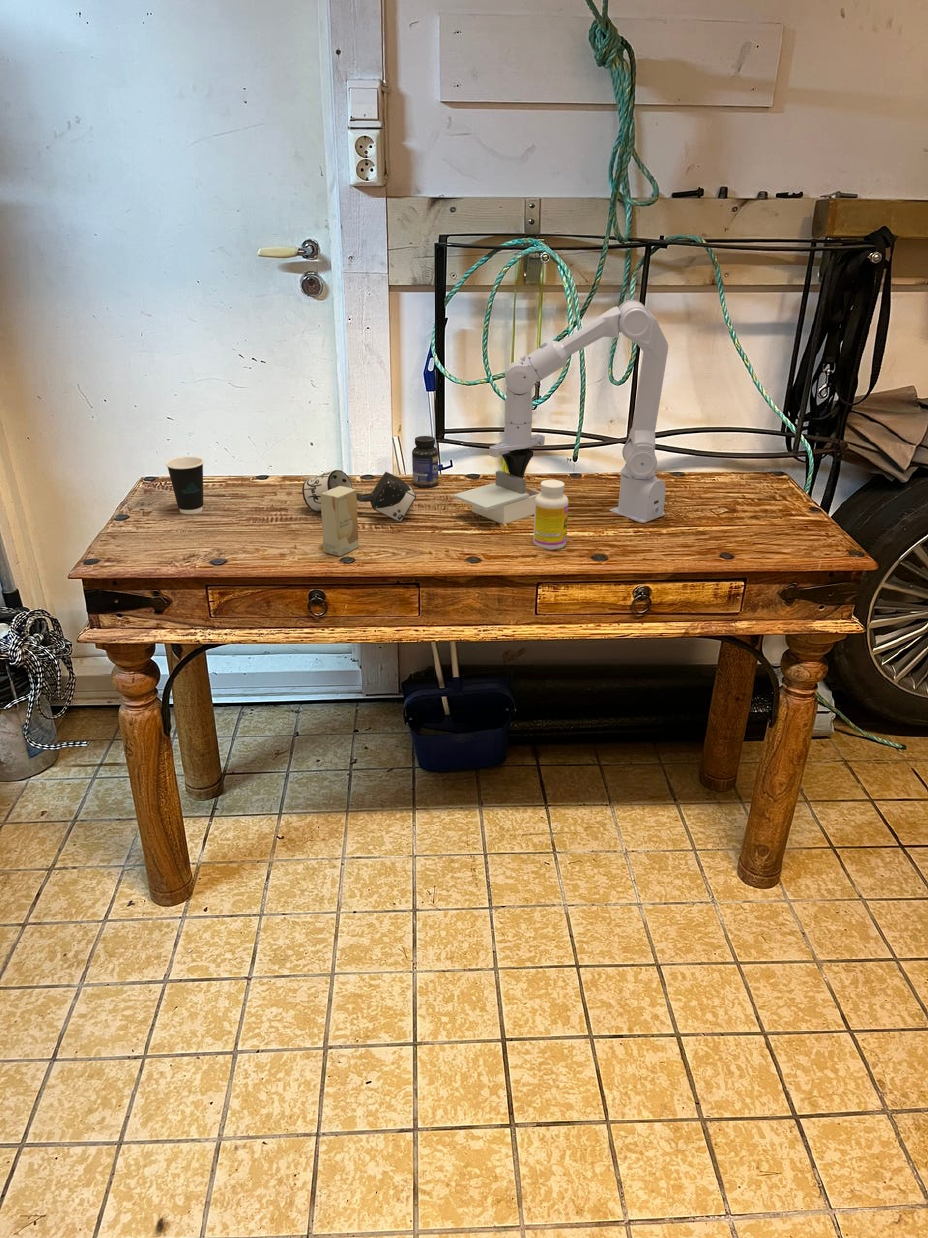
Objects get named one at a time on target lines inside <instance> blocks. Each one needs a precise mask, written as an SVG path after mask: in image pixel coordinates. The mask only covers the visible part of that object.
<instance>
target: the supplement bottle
mask: <svg viewBox="0 0 928 1238" xmlns="http://www.w3.org/2000/svg"><path fill="white" fill-rule="evenodd" d="M539 488H540V492H541V493H540V494H539V495H537V497H536V498H535V513H534V517H533V519H534V521H533V536H532V537H533V545H535V546H536V547H539V548H542V549H545V550H552V551H553V550H559V549H562V548H564V547H565V546H566V545H567V537H568V535H567V534H568V519H569V517H568V516H569V498H568V497H567V495H566V494H564V491H565V482H564V481H561V480H558V479H545V480H542V481H540V486H539Z"/></svg>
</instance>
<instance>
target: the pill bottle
mask: <svg viewBox="0 0 928 1238" xmlns="http://www.w3.org/2000/svg"><path fill="white" fill-rule="evenodd" d="M414 445H415V447H414V448H413V449H412V451H411V457H412V459H411V463H412V469H411V470H412V483H413V485H414V486H415V487H417V488H418V487H419V488H424V489H425V488H433V487H436V486H438V484H439V482H440V481H439V450H438V448H436V447H435V445H436V438H435V437H434V436H432V435H419V436H417V437H415V438H414Z"/></svg>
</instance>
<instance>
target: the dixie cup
mask: <svg viewBox="0 0 928 1238" xmlns="http://www.w3.org/2000/svg"><path fill="white" fill-rule="evenodd" d="M204 464H205V460H204V459H203V458H201V457H198V456H180V457H175V458H171V459H169V460H167V461H166V462H165V466H166V467H167V470H168V474H169V478H170V481H171V486H172V489H173V493H174V497H175V501H176V504H177V505H176V506H177V508H178V509H179V512H180V513H181V514H183V515H195V514H198V513H201V512H202V511H203V507H204Z"/></svg>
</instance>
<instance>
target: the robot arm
mask: <svg viewBox="0 0 928 1238" xmlns="http://www.w3.org/2000/svg"><path fill="white" fill-rule="evenodd" d="M619 332H620V333H622V335H623V336H624V337H625V338H627V339H628V340H630V341H632V342H634V343H635V344H637V346H638V347H639V348H640V350H641V351H642V358H641V359H642V360H641V364H640V365H641V366H640V372H639V377H638V378H639V379H638V386H637V393H636V399H635V406H634V413H633V419H632V425H631V428H630V430H629V434H628V439H627V441H626V442H625V444H624V445H623V448H622V450H621V451H622V452H621V453H622V457H623V460H624V462H625V464H624V466H623V467H622V468H621V470H620V483H619V484H620V485H619V493H618V494H619V495H618V506H616V507H613V508H611V509H609V511H610V512H612V513H615V514H618V515H620V516H623V517H626V518H628V519H629V520H632V521H635V522H637V523H640V524H641V523H642V524H644V523H647V522H650V521H653V520H656V519H657V518H660V517H663V516H666V512H664V511H665V510H664V509H665V500H666V490H667V489H666V484H665V482H664V481H663V480H662V479H660V478H658V477H657V475H656V471H655V470H656V469H657V467H658V460H657V456H656V453H655V451H656V429H657V428H656V427H657V423H658V415H659V408H660V404H661V396H662V392H663V391H662V390H663V383H664V377H665V372H666V365H667V358H668V353H669V352H668V351H669V343H668V341H667V339H666V336H665V334H664V332H663V331H662V328H661V326H660V323H659V322H658V319H657V318H656V317H655V316H654V315H653V313H652V312H651V311H650V310H649V309H648V308H647V307H646V306H645V305H644V304H643V303H642V302H640V301H639V300H637V299H629V300H625V301H623V302H622V303H620V305H618V306H617V305H616V306H613V307H611V308H609V309H608V310H607V311H605V312H603V313H602V314H600V315H599V316H597V317H595V318H594V319H593V320H592V321H590V322H588V323H586V325H584V326H583V327H581V328H579V329H578V330H577V331H575V332H574V333H572V334H571V335H570V336H568V337H565V339H563V340H561V341H557V340H554V339H552V340H550V341H548V342H547V340H545V341H542V342H541V343H540V347H539V348H537V349H536V350H534V351H532V352H531V353H529V354H527V355H525V354H523V355H522V356H520V360H516V361H513V362H511V363H510V364H509V365H508V366H507V368H506V371H505V373H504V377H505V384H506V389H505V396H506V397H505V398H504V399H505V400H504V435H503V437H502V438H501V441H499V442H497V443H496V444H494V445H491V446H489V453H488V455H489V456H490V457H493V458H499V457H500V456H501V457H502V459H503V460H504V463H505V465H506V467H507V470H508V473H509V474H512V475H514V476H517V477H520V478H523V479H524V475H525V473H526V471H527V467H528V465H529V463H530V461H531V460H532V458H533V457H534V450H532V449H530V448H532V447H537V446H545V442H546V441H545V437H546V436H545V435H542V434H539V433H537V434H533V435H532V431H533V429H532V426H533V424H532V423H533V400H534V399H533V398H532V391H533V387H534V386H535V383H536V382H541V381H542V380H544V379H546V378H547V377H549V376H551V375H552V374H554V373H555V372H558V371H559V370H560V369H562V368H564V367H565V366H566V365H567V363H568V359H569V356H571V355H573V354H576V353H577V352H579V351H581V350H582V349H584V348H586V347H588V346H589V345H591V344H593V343H595V342H597V341H598V340H601V339H602V338H605V337H606V338H614V339H615V338H620V334H619Z"/></svg>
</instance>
